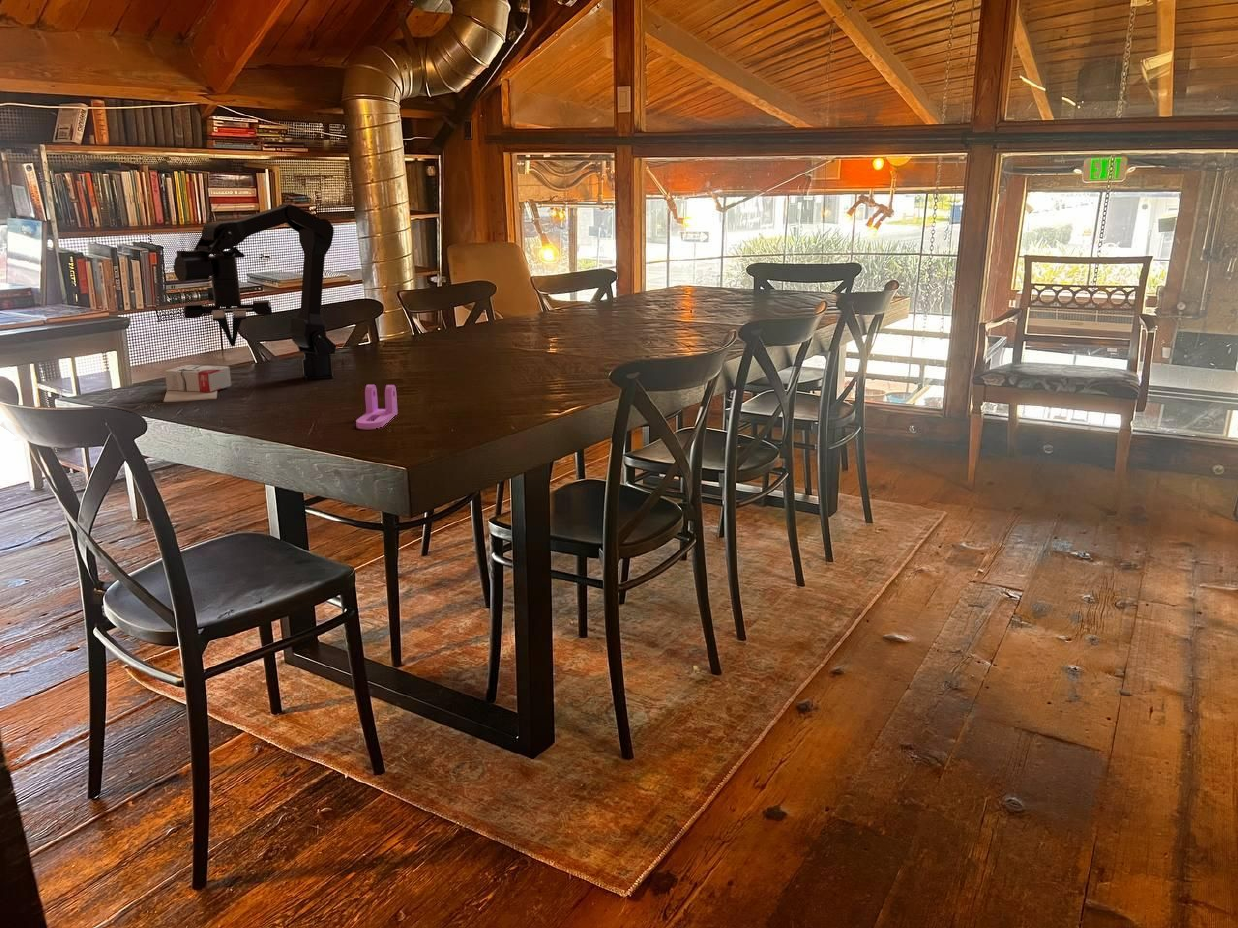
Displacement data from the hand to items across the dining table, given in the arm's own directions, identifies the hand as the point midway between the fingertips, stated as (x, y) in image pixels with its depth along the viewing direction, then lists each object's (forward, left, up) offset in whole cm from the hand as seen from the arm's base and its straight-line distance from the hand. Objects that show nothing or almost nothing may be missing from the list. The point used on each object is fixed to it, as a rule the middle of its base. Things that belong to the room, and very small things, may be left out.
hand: (233, 346), depth 218 cm
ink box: (+3, -1, -8) cm, 9 cm away
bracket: (-26, +43, -11) cm, 52 cm away
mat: (+10, 0, -11) cm, 15 cm away
